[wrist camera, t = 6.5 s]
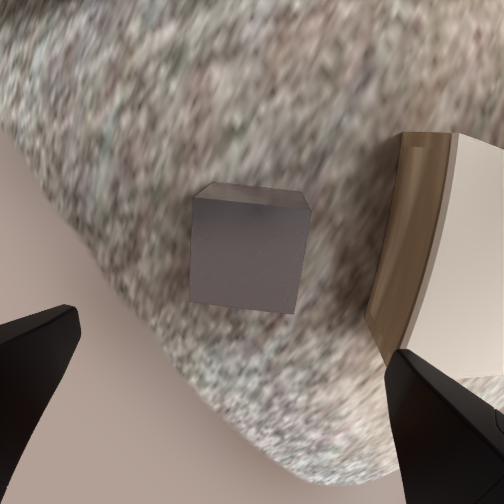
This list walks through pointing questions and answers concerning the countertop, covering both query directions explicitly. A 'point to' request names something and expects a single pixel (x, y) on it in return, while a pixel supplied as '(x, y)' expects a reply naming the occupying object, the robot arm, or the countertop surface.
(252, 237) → the block
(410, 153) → the box
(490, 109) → the countertop surface
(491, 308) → the lid
